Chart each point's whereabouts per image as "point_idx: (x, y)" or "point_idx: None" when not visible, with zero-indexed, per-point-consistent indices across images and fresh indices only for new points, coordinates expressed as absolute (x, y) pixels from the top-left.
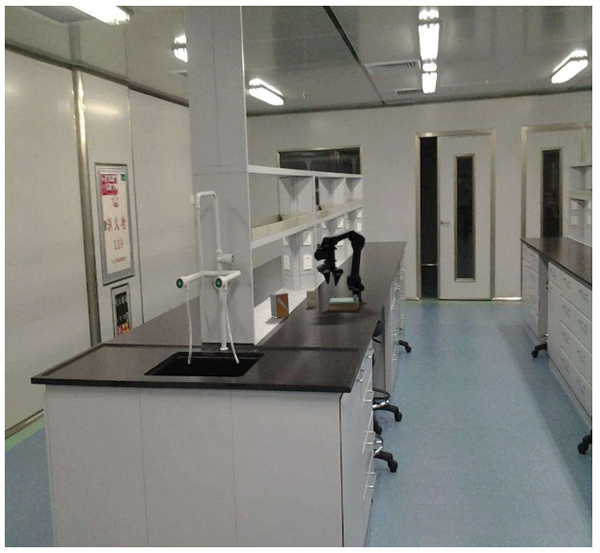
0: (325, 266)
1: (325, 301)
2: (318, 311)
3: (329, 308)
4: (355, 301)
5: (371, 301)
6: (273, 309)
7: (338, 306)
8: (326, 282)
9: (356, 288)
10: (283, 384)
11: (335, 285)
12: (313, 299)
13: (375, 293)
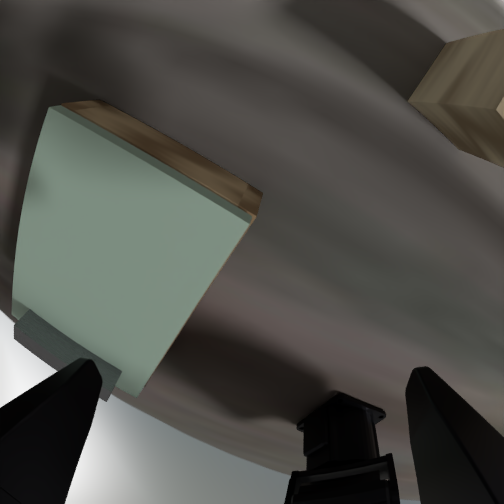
0: None
1: (500, 280)
2: (157, 18)
3: (84, 104)
4: (13, 304)
5: (258, 442)
6: None
7: None
8: (437, 388)
9: (303, 484)
10: None
11: (75, 364)
12: (448, 85)
13: (399, 485)
